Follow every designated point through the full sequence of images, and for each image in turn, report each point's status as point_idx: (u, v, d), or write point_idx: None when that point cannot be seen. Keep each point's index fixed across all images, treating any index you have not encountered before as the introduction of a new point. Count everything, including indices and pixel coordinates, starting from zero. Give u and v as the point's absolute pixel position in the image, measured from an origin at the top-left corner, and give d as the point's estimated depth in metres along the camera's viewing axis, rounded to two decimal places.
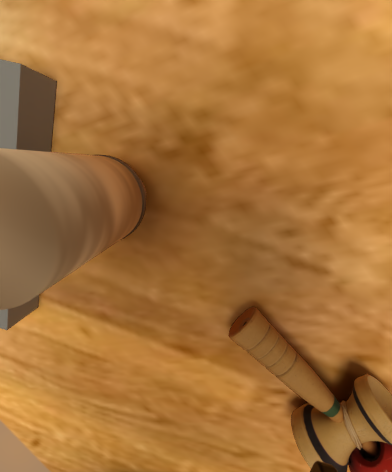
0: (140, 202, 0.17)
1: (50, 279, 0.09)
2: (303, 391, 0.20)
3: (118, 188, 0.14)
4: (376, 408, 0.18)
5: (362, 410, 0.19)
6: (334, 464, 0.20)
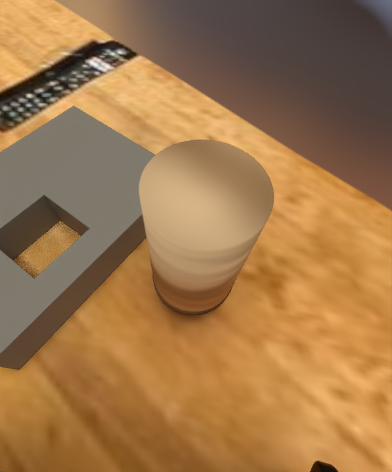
0: None
1: (246, 240, 0.10)
2: None
3: None
4: None
5: None
6: None
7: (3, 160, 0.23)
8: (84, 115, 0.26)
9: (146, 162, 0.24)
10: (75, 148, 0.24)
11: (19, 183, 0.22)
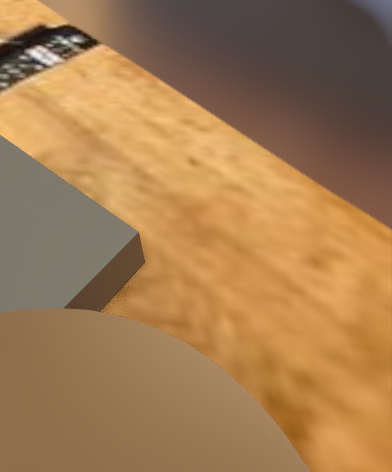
0: None
1: None
2: None
3: None
4: None
5: None
6: None
7: None
8: None
9: (74, 214, 0.14)
10: None
11: None
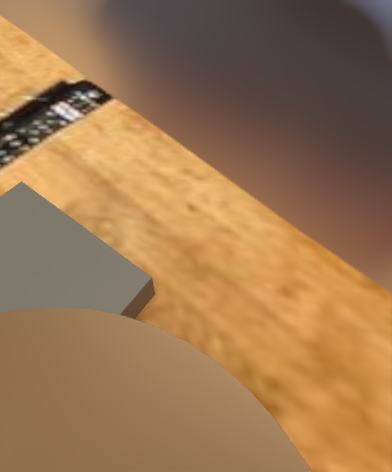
0: None
1: None
2: None
3: None
4: None
5: None
6: None
7: None
8: (32, 195, 0.21)
9: (104, 263, 0.19)
10: (17, 245, 0.19)
11: None
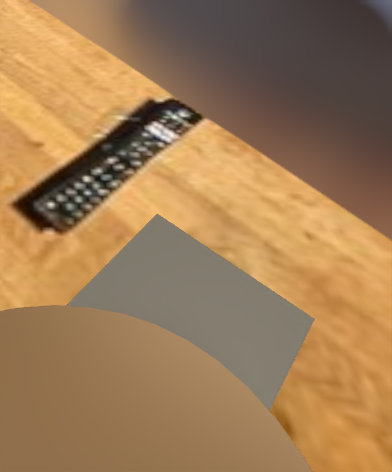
0: None
1: None
2: None
3: None
4: None
5: None
6: None
7: None
8: (172, 229, 0.21)
9: (263, 304, 0.18)
10: (171, 284, 0.19)
11: None
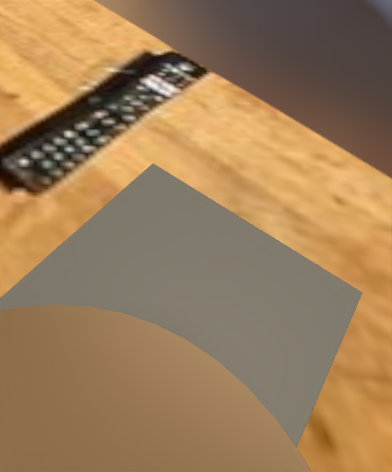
0: None
1: None
2: None
3: None
4: None
5: None
6: None
7: (51, 276, 0.13)
8: (172, 181, 0.16)
9: (294, 273, 0.14)
10: (171, 247, 0.14)
11: None
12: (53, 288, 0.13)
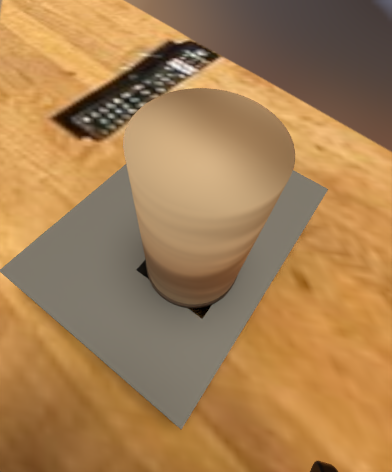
0: None
1: (262, 204, 0.08)
2: None
3: None
4: None
5: None
6: None
7: (128, 176, 0.20)
8: None
9: None
10: None
11: None
12: None
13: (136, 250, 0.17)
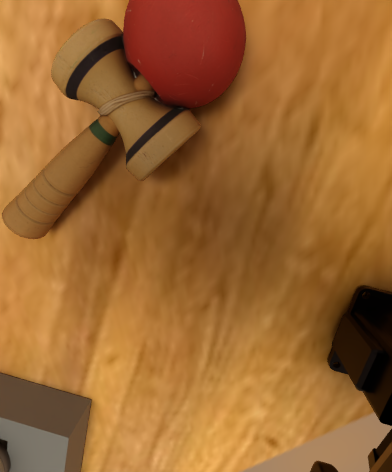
0: None
1: None
2: (70, 165, 0.16)
3: None
4: (53, 77, 0.14)
5: (71, 93, 0.14)
6: (147, 134, 0.14)
7: None
8: None
9: None
10: None
11: None
12: None
13: None
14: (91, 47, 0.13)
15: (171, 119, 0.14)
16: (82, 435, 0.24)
